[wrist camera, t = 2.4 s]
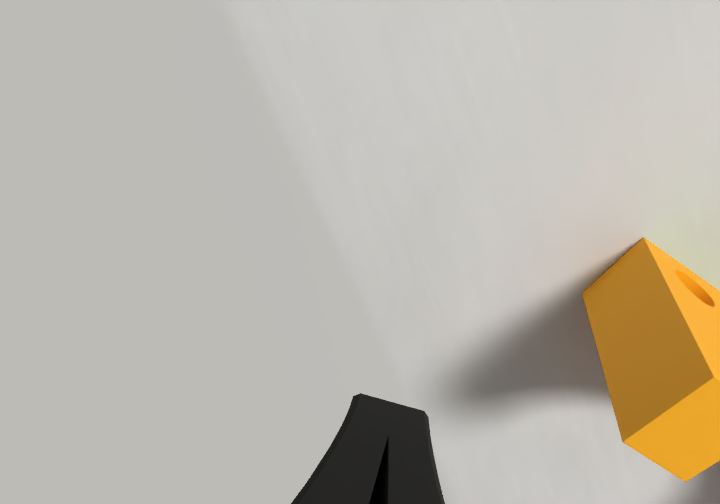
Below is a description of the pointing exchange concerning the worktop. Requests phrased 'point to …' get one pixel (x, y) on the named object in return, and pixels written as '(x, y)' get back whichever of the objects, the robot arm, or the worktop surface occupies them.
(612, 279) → the notched yellow bracket
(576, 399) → the worktop surface
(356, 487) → the robot arm
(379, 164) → the worktop surface
